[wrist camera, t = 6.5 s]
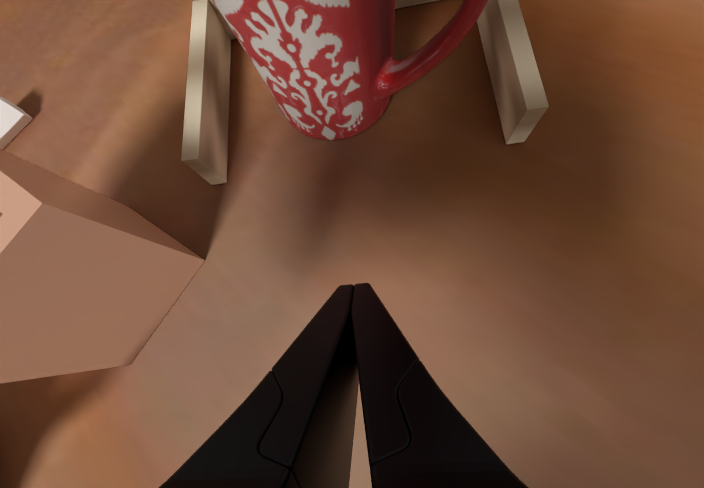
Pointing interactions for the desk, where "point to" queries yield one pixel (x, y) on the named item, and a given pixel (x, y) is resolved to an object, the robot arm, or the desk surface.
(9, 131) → the marker
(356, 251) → the desk surface
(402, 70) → the mug
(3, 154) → the terracotta pot
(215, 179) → the bay
